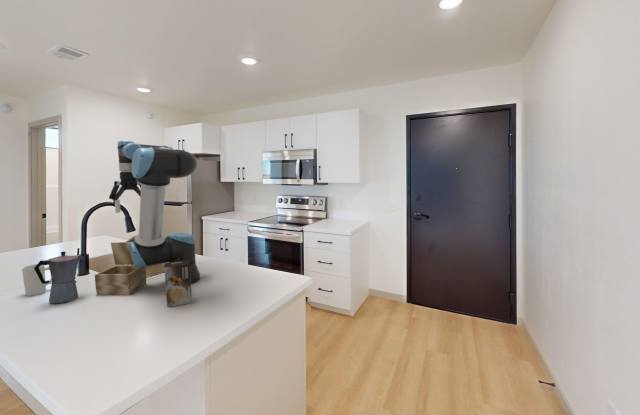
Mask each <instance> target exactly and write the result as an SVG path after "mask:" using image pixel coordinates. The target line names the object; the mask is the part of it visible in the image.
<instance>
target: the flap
mask: <svg viewBox="0 0 640 415" xmlns="http://www.w3.org/2000/svg"><path fill="white" fill-rule="evenodd" d="M135 236H136V235H135ZM135 236H133V237H131V238H129V239H128V240H127V241H122V242H121V241H119V242H118V241H113V242H110V246H111V250H112V255H113V259H114V264H115V265H114V266H135V265H134V263H133V260H132V257H131V253H130V248H129V244H130V243H131V242H134V241H135Z"/></svg>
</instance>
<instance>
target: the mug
mask: <svg viewBox="0 0 640 415" xmlns="http://www.w3.org/2000/svg"><path fill="white" fill-rule="evenodd" d="M37 264H38V263H36V264H30V265H26V266H22V267H21V270H22V271H21V272H22V273H21V274H22V278H23V287H24V291H25V296H28V297H34V296H37V295H38V296H39V295H41V294H42V295H43V294H44V293H46V292H47V288H46V287H47V286H48V285H52V278H51V277H50V279H49V280H48V281H50V282H49V283H46V284H42V282H41V281H40V279H39V277H38V275H37V273H36V271H35V270H34V267H35V266H36V265H37ZM39 269H40V272H41V274H42V276H43V279H44V280H45V281H46V274H45V272H46V271H50V268H49V265H47V267H46V266H45V265H41V266H40V267H39Z"/></svg>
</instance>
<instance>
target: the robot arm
mask: <svg viewBox="0 0 640 415" xmlns="http://www.w3.org/2000/svg"><path fill="white" fill-rule="evenodd" d="M117 155H118V169H119V179H120V181H119V180H115V181H114V182H113V186H112V189H111V192H110V194H109V196H108V199H110V200H112V201H113V207H114V210H115V214H119V213H121V200H120V197H122V195H123V193H124V192H125V191H132V190H133V191H135V192H136V194H137V195H138V196H139V197H140V199H139V200H140V201H139V224H138V225H139V226H138V234H136V235H135V241H134V242H131V243H130V244H129V248H130V253H131V257H132V260H133V263H134V265H133V266H136V267H138V268H141V267H146V268H148V267H151V266H158V265H162V264H165V263H172V262H180V261H189V264H190V277H191V284H194V283H197V282H198V281H199V280H200V279H201V272H200V270H199V269H198V266H197V262H196V243H195V242H196V241H195V237H194V235H193V234H190V233H185V232H171V233H168V234H166V237H165V235H164V234H163V224H164V211H165V210H164V208H165V199H166V198H165V197H166V196H165V195H166V187H168V186H169V185H170V184H171V179H180V178H181V179H182V178H186V177H188V176H190V175H192V174H193V173H194V172H195V171H196V169H197V166H198V161H197V158H196V156H195V155H194V154H192V153H191V152H189V151H186V150H182V149H174V148H173V147H172V146H167V145H155V144H154V145H152V144H151V145H150V144H141V143H135V142H134V141H130V140H119V141H117ZM138 186H139V187H138Z"/></svg>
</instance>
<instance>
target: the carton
mask: <svg viewBox="0 0 640 415" xmlns="http://www.w3.org/2000/svg"><path fill="white" fill-rule="evenodd" d="M94 281H95V282H94V283H95V284H94V285H95V291H96V292H95V293H96V296H130V295H132V294H133V293H135V292H137V291H138V290H140V289H142V288H144V285H145V286H146V285H147V282H148V281H147V267H141V268H138V267H136V266H135V265H114V266H112V267H110V268H107V269H105V270H102V271H100V272H98V273H95V274H94ZM141 287H142V288H141ZM139 288H140V289H139Z"/></svg>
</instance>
